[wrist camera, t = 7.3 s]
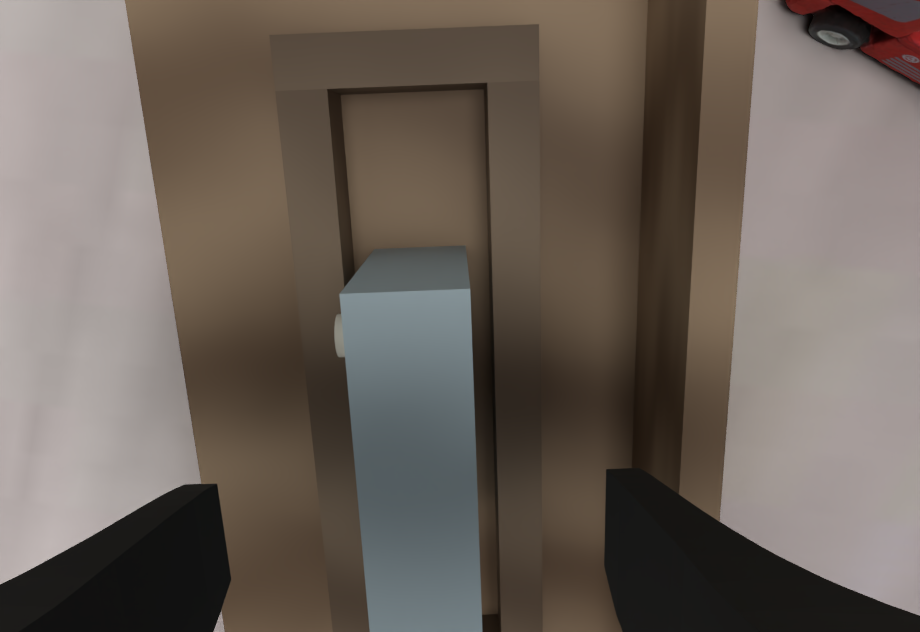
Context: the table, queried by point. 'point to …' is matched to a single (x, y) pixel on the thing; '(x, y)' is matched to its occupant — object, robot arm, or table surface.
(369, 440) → the grey-blue rectangular block
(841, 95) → the table surface
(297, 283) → the track base
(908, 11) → the toy fire truck
